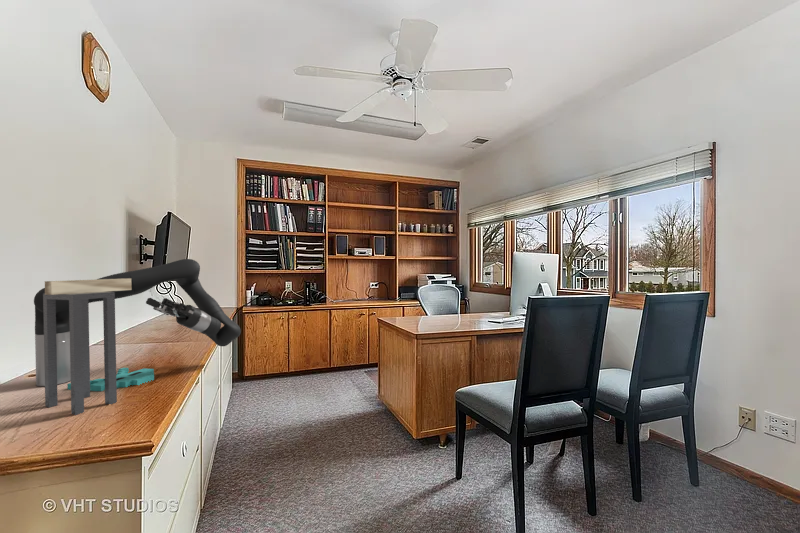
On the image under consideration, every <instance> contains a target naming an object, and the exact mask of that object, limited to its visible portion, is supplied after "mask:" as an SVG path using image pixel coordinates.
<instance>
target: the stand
mask: <svg viewBox="0 0 800 533" xmlns="http://www.w3.org/2000/svg"><path fill="white" fill-rule="evenodd" d="M96 298H103V301H102V309H103V310H102V311H103V313H102V314H103V316H102V318H103V319H102V320H103V356H104V357H103V359H104V360H103V364H104V366H103V367H104V379H105V390H104V404H105V405H107V404H111V405H113V403H114V404H117V403H118V395H117V393H118V391H117V389H118V388H117V383H116V375H117V349H116V348H117V343H116V340H117V337H116V336H117V335H116V332H117V331H116V299H115V292H89V293H72V294H56V295H45V294H43V315H44V365H45V386H44V396H45V397H44V404H45V405H44V407H46V408H52V407H57V406H58V404H59V402H58V398H59V397H58V384H57V345H56V300H69V323H70V374H71V381H70V383H71V390H70V406H71V407H70V409H71V410H70V412H71V413H70V414H71V415H74V416H76V415H80V413H81V414H83V412H84V413H85V398H89V397H91V391H90V380H91V365H90V364H91V363H90V362H91V361H90V360H91V359H90V317H89V316H90V315H89V314H90V313H89V312H90V311H89V310H90V308H89V304H90V303H88V299H96ZM116 402H117V403H116Z"/></svg>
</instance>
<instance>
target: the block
mask: <svg viewBox="0 0 800 533" xmlns="http://www.w3.org/2000/svg"><path fill="white" fill-rule="evenodd" d="M96 279H97V280H96ZM96 279H74V280H69V279H68V280H45V281H44V288H45V295H56V294H72V293H89V292H106V291H122V290H132V287H131V279H99V278H96Z"/></svg>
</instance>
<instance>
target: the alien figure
mask: <svg viewBox="0 0 800 533" xmlns="http://www.w3.org/2000/svg"><path fill="white" fill-rule="evenodd" d="M128 372H129V373H128ZM151 380H152V381H154V380H155V370H154V368H145V367H144V368H141V369H136V370H134V371H131V372H130V370H129V367H121V368H118V369H117V372H116V383H117V389H119V388H125V387H126V388H128V386H129V387H131V386H130V385H132V386H133V385H138V386H140V384H141V385H143V384H142V383H144V384H146V383H149V382H152V381H151ZM148 381H149V382H148ZM145 382H146V383H145ZM67 390H70V391H71V382H70V383H67ZM103 391H104V392H105V378H95V379H93V380H91V379H90V392H103Z"/></svg>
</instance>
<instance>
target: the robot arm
mask: <svg viewBox="0 0 800 533" xmlns="http://www.w3.org/2000/svg"><path fill="white" fill-rule="evenodd" d="M200 271H201V266H200V264H199V262H198V261H197V260H195V259H191V258H183V259H179V260H175V261H171V262H167V263H164V264H160V265H157V266H151V267H145V268H141V269H137V270H130V271H123V272H120V273H119V272H118V273H114V274H110V275H106V276H103V277H100V278H99V277H98V278H96V279H95V280H97V279H131V287H132V290H122V291H106V292H115V300H117V299H122V298H126V297H127V298H128V297H133V296H137V295H140V294H142V293H144V292H147V291H149V290H151V289H152V288H154V287H156V286H158V285H160V284H163V283H165V282H170V281H175V282H176V283H177V284H178V286H179V287H180V288H181V289H182V290H183V291H184V292H185V293H186V294H187V295H188V296H189V298H190V299H191V300H192V302H193V303H194V304H195V305H196V306H197V307H195V306H194V305H190V304H184V303H183V302H177V301H176V302H175V301H173V300H171V299H169V298H165V297H164V298H162V301H158V300H157V299H154V298H152V297H148V298H147V299H146V300H145V304H146V305H148V306H151V307H153V308H152V309H153V310H154V311H157V312H159V313H161V314H164V315H166V316H170V317H173V318H174V317H175V322H176V323H177V324H179V326H180V325H181V326H183V327H185V328H188V329H189V330H192V331H195V332H198V333H200V334H203V335H206V337H208V338H209V339H210V340H211V341H213V342H214V343H215V345H217V346H219V347H227V346H228V345H230V344H232V342H234V341H235V340H236V339H238V337H239V336H240V335H241V332H242V330H241V327H240V325H239V324H238V323H236V322H235V321H234V320H233V319H231V318H230V317H229V316H228V315H227V314H226V313H225V312H224V310H223V309H222V307H221V306H220V304H219V302H217V300H216V299H215V298H214V297H212V296H211V295H210V294H209V293H208V292H207V291H206V290H205V289H204V287H203V286H202V284H201V282H200V279H199V277H200ZM43 294H45V287H44V288H41V289H40V290H39V291H38V292H37V293H36V294H35V295H34V298H33V304H34V335H35V336H34V341H35V342H34V344H35V346H34V347H35V386H36V387H45V365H44V315H43ZM95 302H103V298H96V299H88V303H89V304H91V303H95ZM222 325H223V326H222ZM56 345H57V385H61V384H65V383H68V382H71V374H70V323H69V300H56Z"/></svg>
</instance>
